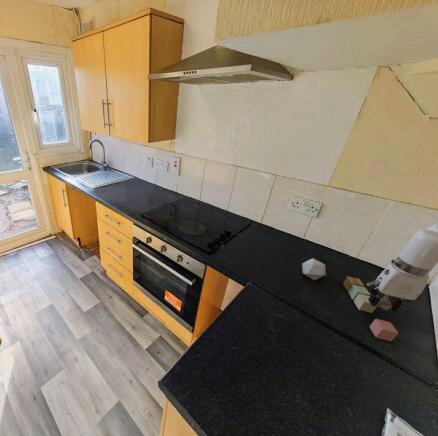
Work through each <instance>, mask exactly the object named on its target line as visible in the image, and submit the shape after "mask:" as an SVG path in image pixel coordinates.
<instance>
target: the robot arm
mask: <svg viewBox="0 0 438 436" xmlns="http://www.w3.org/2000/svg"><path fill="white" fill-rule="evenodd" d="M390 261H391V262H390V263H391V264H389V265H388V266H386V267H385V269H384V270H382V271H381V273H379V275H378V276H377V277H376V279H375V280H373V281H369V282H367V283H365V285H366V287H367V288H368V289H369V291H370V292H371V294H370V297H369V300H368V301H369V302H370V303H371V305H372V306H376V305H377V303H378V302H379V301H380V298H382V296H385V295H388V296H391V297H393V298H392V299H390V301H389V302H390V303H391V305H392V308H390V309H391V311H392V312H397V311H398V310H399V308H400V307H401V306H402V305H406V304H407V303H408V302H412V301H415V300H416V301H417V300H421V299H422V295H421V294H422V293H423V291H424V290H425V288H426V286H427V284H428V282H429V279H430V275H429V274H430V272H431V271H432V270H433V269H434V267H436V265H437V264H438V222H437V223H435V224H433V225H432V226H430V227H428V228H426V229H419V230H417V231H416V232H415V233H414V234H413V236H412V237H411V238H410V240H409V241H408V242H407V244H406V245H405V247H404V248H403V250H402V251H401V253H399V255H398V257H397V258H396V259H392V260H390Z"/></svg>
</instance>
